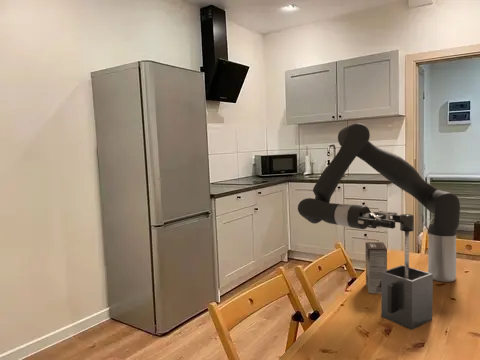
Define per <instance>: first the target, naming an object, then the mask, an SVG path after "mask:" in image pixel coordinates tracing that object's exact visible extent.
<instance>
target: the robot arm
mask: <svg viewBox="0 0 480 360" xmlns="http://www.w3.org/2000/svg"><path fill="white" fill-rule="evenodd" d="M370 137H371V133H370V129H369V128H368V127H367V125H365V124H364V123H352V124H349V125H347V126H345V127H344V128H342V129H341V130H340V131H339V132H338V134H337V141H338V144H339V145H340V147H339V150H338V152H337V153H336V155H335V156H334V158H333V159H332V160H331V161H330V163H329V164H328V165H327V166H326V167H325V168H324V170H323V171H322V172H321V174H320V176H319V178H318V180H317V181H316V183H315V184H314V187H313V188H312V192H313V194H314V196H315V198H313V197H312V198H311V197H308V198H304V199H302V200H300V201H299V203H298V205H297V212H298V213H299V215H300V216H301V217H302V218H304V219H305V220H306V221H308V222H309V223H311V224H318V223H320V222H322V221H323V222H324V223H327V224H330V225H337V226H341V227H346V228H351V229H357V230H358V229H359V230H366V229H367V228H368V229H369V228H370V229H377V228H379V229H380V228H387V229H395V228H396V223H399V224H400V215H401V214H398V212H390V211H383V210H382V211H381V210H378V211H371V210H370V208H369V207H368V206H367V205H361V204H360V205H359V204H352V203H331V198H332V196H333V194H334V192H335V191H336V189H337V188H338V185H339V183H340V182H341V180H342V178H343V177H344V175H345V174H346V172H347V171H348V169H349V167H350V165H351V164H352V163H353V162H354V161H355V159H356V158H359V159H360V160H362V161H363V162H365V163H366V164H367V165H368V166H369V167H371V168H372V169H373V170H375V171H376V172H378V174H380V175H382V177H384V178H385V179H386V180H388V181H389V182H390V183H392V184H393V185H395V186H396V187H398V188H400V190H403V191H404V192H406V193H407V194H409V195H410V196H412V197H413V198H414V199H416V200H417V202H419V203H420V204H421V205H422V206H423V207H424V208H426V210H428V211H429V212H430V213H432V214H433V215H434V217H433V223H432V224H429V225H428V236H427V237H428V240H427V242H428V244H427V245H428V250H427V252H428V253H427V255H428V256H427V258H428V259H427V261H428V262H427V272H428V273H432V274H433V281H438V282H443V283H445V282H446V283H450V282H454V281H456V278H457V230H458V228H459V227H460V226H459V225H460V213H461V203H460V200H459V197H458V196H457V195H456V194H454V193H452V192H449V191H444V190H441V189H438V188H437V187H435V186H433V185H432V184H431V183H428V182H427V181H426V180H424V179H423V178H422V176H421V175H420V173H419V172H418V171H417V170H416V169H415V167H414V166H412V164H410V163H409V162H407V160H406V159H404V158H403V157H401V156H399V155H397V154H396V153H393V152H392V151H389V150H386V149H385V148H384V149H383V148H381V147H379V146H377V145H375V144H373V143H372V142H370ZM391 217H392V218H391Z"/></svg>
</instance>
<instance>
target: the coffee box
mask: <svg viewBox="0 0 480 360" xmlns="http://www.w3.org/2000/svg"><path fill="white" fill-rule="evenodd" d="M386 270H388V248H387V247H386V244H385V243H384V241H383V242H378V241H377V242H375V241H374V242H370V241H367V242H365V284H366V288H367V291H368V293H369V294H381V272H383V271H386Z"/></svg>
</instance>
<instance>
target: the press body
mask: <svg viewBox="0 0 480 360" xmlns="http://www.w3.org/2000/svg"><path fill="white" fill-rule="evenodd" d="M402 277H404V265H401V264H400V265H399V266H398V265H397V266H395V267H392V268H389V269H387V270H386V271H383V272H381V295H380V296H381V300H380V301H381V303H380V304H381V306H380V308H381V310H380V311H381V312H380V313H381V314H380V315H381V318H382V319H385V320H388V321H389V322H392V323H395V324H397V325H398V326H401V327H404V328H406V329H409V330H411V331H413V330H415V329H417V328H420V327H421V326H423V325H425V324H428V323H430V322H432V321H433V300H434V299H433V292H434V291H433V290H434V288H433V287H434V286H433V285H434V282H433V281H434V280H433V274H432V273H428V271H424V270H420V269H417V268H413V267H410V266H409V279H412V280H408V279H405V278H402Z"/></svg>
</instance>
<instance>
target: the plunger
mask: <svg viewBox="0 0 480 360" xmlns="http://www.w3.org/2000/svg"><path fill="white" fill-rule="evenodd" d="M399 215H400V223H399V230H400V231H401V232H404V265H403V266H404V277H402V278H405V279H408V280H412V279H409V267H410V232H414V230H415V229H414V225H415V223H414V222H415V217H414V214H409V213H403V214H399Z"/></svg>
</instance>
